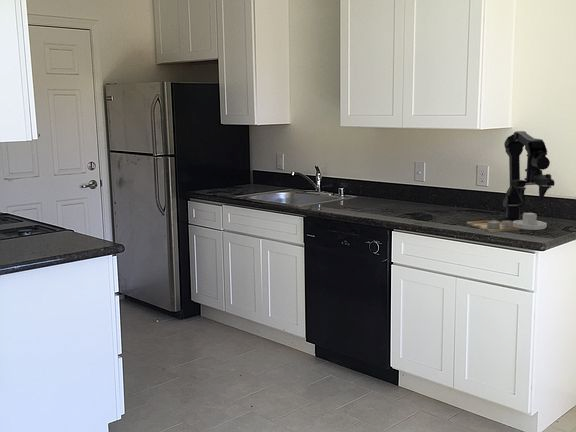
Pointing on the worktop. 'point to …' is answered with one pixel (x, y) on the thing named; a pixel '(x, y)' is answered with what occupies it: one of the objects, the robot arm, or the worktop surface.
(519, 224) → the bowl
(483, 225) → the tray
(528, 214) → the grey rectangular block
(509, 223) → the grey cubic piece
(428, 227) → the worktop surface
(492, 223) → the grey piece
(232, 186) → the worktop surface
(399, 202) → the worktop surface
